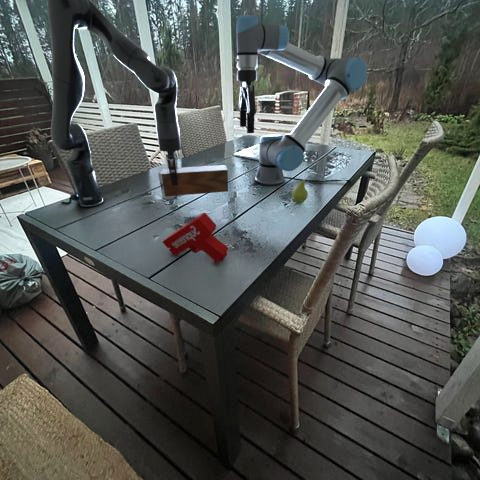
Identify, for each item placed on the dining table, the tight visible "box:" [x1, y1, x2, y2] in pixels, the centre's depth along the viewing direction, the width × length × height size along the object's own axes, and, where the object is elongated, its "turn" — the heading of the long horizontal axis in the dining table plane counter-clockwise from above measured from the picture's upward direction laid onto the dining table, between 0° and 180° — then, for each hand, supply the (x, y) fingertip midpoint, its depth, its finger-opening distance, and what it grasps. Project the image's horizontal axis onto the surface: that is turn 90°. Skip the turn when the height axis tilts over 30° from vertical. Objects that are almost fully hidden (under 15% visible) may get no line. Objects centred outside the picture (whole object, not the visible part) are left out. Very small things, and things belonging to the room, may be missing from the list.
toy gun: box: [162, 212, 230, 264], centre depth 85 cm, size 18×4×15 cm
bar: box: [161, 164, 229, 197], centre depth 104 cm, size 24×6×9 cm, turn 102°
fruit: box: [291, 174, 311, 204], centre depth 118 cm, size 7×8×12 cm
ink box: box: [157, 171, 180, 200], centre depth 125 cm, size 8×5×12 cm, turn 135°
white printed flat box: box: [233, 143, 260, 161], centre depth 184 cm, size 27×35×5 cm
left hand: (175, 181), depth 102 cm, fingers closed on bar, 6 cm apart
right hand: (246, 129), depth 113 cm, fingers open, 13 cm apart
